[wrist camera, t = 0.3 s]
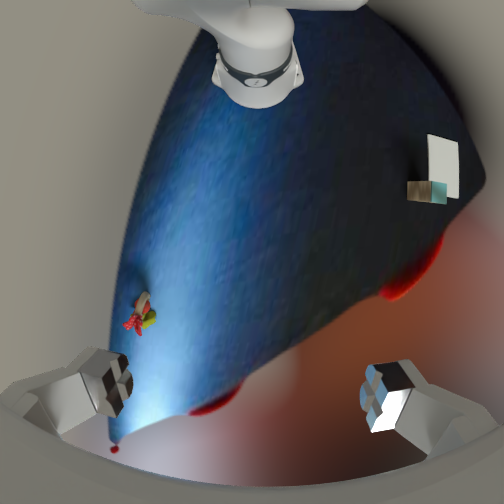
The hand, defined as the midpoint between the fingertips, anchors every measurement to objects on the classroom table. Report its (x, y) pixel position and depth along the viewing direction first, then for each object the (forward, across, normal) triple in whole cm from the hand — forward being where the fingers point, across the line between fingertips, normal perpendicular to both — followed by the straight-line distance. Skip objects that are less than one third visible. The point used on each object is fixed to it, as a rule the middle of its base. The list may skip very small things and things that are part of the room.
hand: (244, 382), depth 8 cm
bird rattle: (+47, +26, +19) cm, 57 cm away
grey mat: (+47, -43, -15) cm, 66 cm away
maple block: (+47, -34, -8) cm, 59 cm away
